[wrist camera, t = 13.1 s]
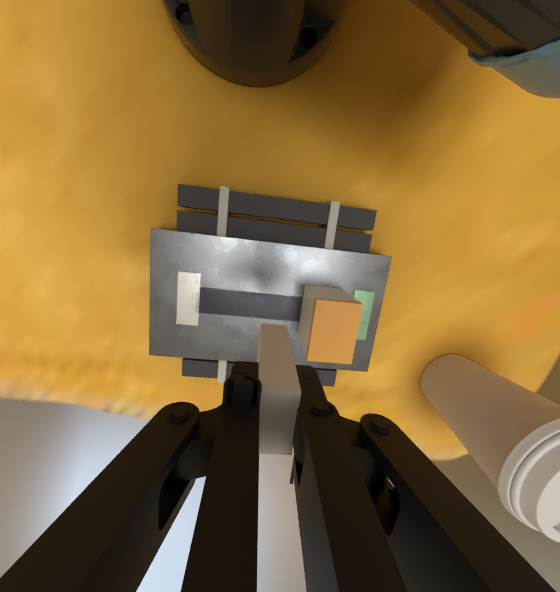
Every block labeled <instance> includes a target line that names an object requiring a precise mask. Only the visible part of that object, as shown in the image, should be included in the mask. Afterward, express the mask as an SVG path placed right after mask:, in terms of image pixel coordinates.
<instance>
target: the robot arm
mask: <svg viewBox="0 0 560 592" xmlns="http://www.w3.org/2000/svg"><path fill="white" fill-rule="evenodd" d="M409 1H411V2H412V3H413V4H414V5H415V6H417V7H418V8H419V9H420V10H421V11H423V12H424V13H425V14H426V15H427V16H429V17H430V18H431V19H432V20H434V21H435V22H436V23H437V24H438V25H440V26H441V27H442V28H443V29H444V30H446V31H447V32H448V33H449V34H450V35H452V36H453V37H454V38H455V39H457V40H458V41H459V42H460V43H461V44H463V45H464V46H465V47H466V48H467V49H468V56H469V57H470V58H471V60H472V61H473V62H475V63H476V64H479V65H481V66H488V67H492V68H494V69H495V70H496V71H498V72H499V73H501V74H502V75H504V76H505V77H506V78H508V79H509V80H511V81H512V82H514V83H515V84H516V85H518V86H519V87H521V88H522V89H524V90H525V91H527V92H529V93H531V94H534V95H537V96H541V97H546V98H560V0H409ZM162 2H163V4H164V7H165V9H166V11H167V14H168V16H169V18H170V21H171V23H172V25H173V27H174V29H175V31H176V32H177V34H178V36H179V37H180V39H181V41H182V42H183V43H184V45H185V46H186V47H187V49H188V50H189V51H190V52H191V54H192V55H193V56H194V57H195V58H196V59H197V60H198V61H199V62H200V63H202V64H203V65H204V66H205V67H206V68H208V69H209V70H210V71H212V72H213V73H215V74H217V75H218V76H220V77H222V78H224V79H226V80H229V81H231V82H234V83H237V84H241V85H246V86H254V87H264V86H272V85H277V84H281V83H284V82H286V81H289V80H291V79H293V78H295V77H297V76H298V75H300V74H302V73H303V72H304V71H306V70H307V69H308V68H310V67H311V66H312V65H313V64H314V63H315V62H316V61H317V60H318V59H319V57H320V56H321V55H322V54H323V53H324V51H325V50H326V48H327V47H328V45H329V44H330V42H331V40H332V38H333V36H334V34H335V32H336V30H337V27H338V25H339V22H340V20H341V17H342V14H343V12H344V9H345V6H346V3H347V0H162ZM293 447H294V459H293V466H292V472H291V478H290V484H293V480H294V484H295V492H296V502H297V510H298V519H299V528H300V537H301V545H302V553H303V562H304V571H305V580H306V589H307V592H556V591H555V590H554V589H553V588H552V587H551V586H550V585H549V584H548V583H547V582H546V581H545V580H544V579H543V578H542V577H541V575H540V574H539V573H538V572H537V571H536V570H535V569H534V568H533V567H532V566H531V565H530V564H529V563H528V562H527V561H526V560H525V559H524V558H523V557H522V556H521V555H520V554H519V553H518V552H517V550H516V549H515V548H514V547H513V546H512V545H511V544H510V543H509V542H508V541H507V540H506V539H505V538H504V537H503V536H502V535H501V534H500V533H499V532H498V531H497V530H496V528H495V527H494V526H493V525H492V524H491V523H489V521H488V520H487V519H486V518H485V517H484V516H483V515H482V514H481V513H480V512H479V511H478V510H477V509H476V508H475V507H474V505H473V504H472V503H470V501H469V500H468V499H467V498H466V497H465V496H464V495H463V494H462V493H461V492H460V491H459V490H458V489H457V488H456V487H455V486H454V485H453V484H452V483H451V481H450V480H449V479H448V478H447V477H446V476H445V475H444V474H443V473H442V472H441V471H440V470H439V469H438V468H437V467H436V466H435V465H434V464H433V463H432V462H431V461H430V460H429V459H428V457H427V456H426V455H425V454H424V453H423V452H422V451H421V450H420V449H419V448H418V447H417V446H416V445H415V444H414V443H413V442H412V441H411V440H410V439H409V438H408V437H407V436H406V434H405V433H404V432H403V431H402V430H401V429H400V428H399V427H398V426H397V425H396V424H395V423H394V422H392V421H391V420H390V419H388V418H386V417H384V416H382V415H379V414H365V415H363V416H362V417H361V419H360V422H356V421H353V420H350V419H347V418H344V417H342V416H340V415H339V413H338V410H337V409H336V407H335V406H334V405H333V404H331V403H330V402H328V401H327V399H326V396H325V393H324V390H323V387H322V385H321V382H320V379H319V376H318V373H317V371H316V370H315V369H314V368H313V367H312V366H307V365H295V361H294V357H293V352H292V348H291V343H290V339H289V334H288V329H287V325H277V324H267V323H261V327H260V336H259V345H258V354H257V362H248V361H237V362H236V363H235V364H234V365H233V366H232V370H231V374H230V377H228V378H226V380H225V382H224V390H223V403H222V404H221V405H220V406H218V407H217V408H215V409H212V410H208V411H203V412H199V409H198V408H197V407H196V406H195V405H194V404H191V403H189V402H176V403H172V404H169V405H166V406H165V407H163V408H162V409H161V410H160V411H159V412H158V413H157V414H156V415H155V416H154V417H153V418H152V419H151V420H150V421H149V422H148V423H147V425H145V426H144V427H143V429H142V430H141V431H140V432H139V433H138V434H137V435H136V436H135V437H134V438H133V439H132V440H131V441H130V442H129V443H128V444H127V445H126V446H125V447H124V449H123V450H122V451H121V452H120V453H119V454H118V455H117V456H116V457H115V458H114V459H113V460H112V461H111V462H110V463H109V464H108V465H107V466H106V468H105V469H104V470H103V471H102V472H101V473H100V474H99V475H98V476H97V477H96V478H95V479H94V480H93V481H92V482H91V483H90V484H89V485H88V486H87V487H86V489H85V490H84V491H83V492H82V493H81V494H80V495H79V496H78V497H77V498H76V499H75V500H74V501H73V502H72V503H71V504H70V505H69V507H67V508H66V510H65V511H64V512H63V513H62V514H61V515H60V516H59V517H58V518H57V519H56V520H55V521H54V522H53V523H52V524H51V525H50V526H49V527H48V528H47V530H46V531H45V532H44V533H43V534H42V535H41V536H40V537H39V538H38V539H37V540H36V541H35V542H34V543H33V544H32V545H31V546H30V547H29V549H28V550H27V551H26V552H25V553H24V554H23V555H22V556H21V557H20V558H19V559H18V560H17V561H16V562H15V564H13V565H12V566H11V568H10V569H9V570H8V571H7V572H6V573H5V574H4V575H3V576H2V577H1V578H0V592H136V591H137V588H138V587H139V585H140V583H141V581H142V580H143V578H144V576H145V574H146V572H147V570H148V568H149V567H150V565H151V563H152V561H153V559H154V557H155V556H156V553H157V552H158V550H159V548H160V546H161V544H162V542H163V541H164V539H165V537H166V535H167V533H168V531H169V529H170V528H171V526H172V524H173V522H174V520H175V519H176V517H177V515H178V513H179V511H180V509H181V507H182V506H183V503H184V502H185V500H186V498H187V496H188V494H189V493H190V491H191V489H192V487H193V485H194V483H195V480H196V478H200V477H204V476H206V480H205V484H204V489H203V494H202V498H201V502H200V507H199V512H198V516H197V520H196V525H195V529H194V534H193V538H192V543H191V547H190V552H189V557H188V561H187V566H186V570H185V575H184V580H183V584H182V589H181V592H257V539H258V533H257V532H258V478H259V477H258V476H259V453H264V454H284V455H291V454H292V448H293ZM388 478H389V479H390V481H391V482H392V484H393V485H394V486H395V487H393V486H392V485H391V484H390V482H389V481H388Z"/></svg>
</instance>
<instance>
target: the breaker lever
mask: <svg viewBox="0 0 560 592" xmlns="http://www.w3.org/2000/svg"><path fill="white" fill-rule="evenodd" d="M362 307H363V304H362V303H361V302H359V301H358V300H357V299H355V298H354V297H353V296H351V295H350V294H349V293H347V292H346V291H345V290H343V289H341V288H331V287H322V286H312V285H305V287H304V294H303V301H302V308H301V315H300V322H299V329H298V337H299V339H300V342H301V345H302V348H303V351H304V354H305V356H306V359H307V361H314V362H327V363H340V364H352V359H353V353H354V348H355V343H356V338H357V333H358V328H359V322H360V317H361V312H362Z"/></svg>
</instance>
